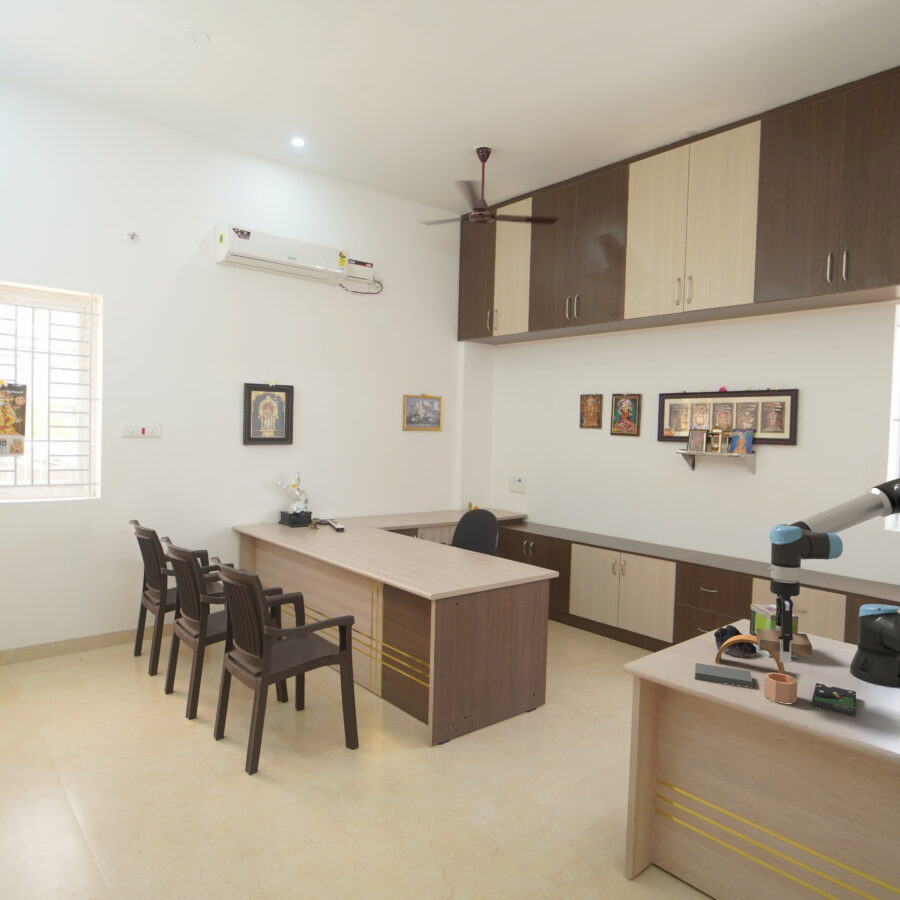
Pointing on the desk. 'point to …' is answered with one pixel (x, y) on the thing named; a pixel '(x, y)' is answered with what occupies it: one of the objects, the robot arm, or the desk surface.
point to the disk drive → (834, 699)
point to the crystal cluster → (737, 648)
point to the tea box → (767, 621)
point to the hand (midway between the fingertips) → (782, 655)
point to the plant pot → (780, 687)
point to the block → (723, 675)
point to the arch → (751, 640)
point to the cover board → (772, 643)
